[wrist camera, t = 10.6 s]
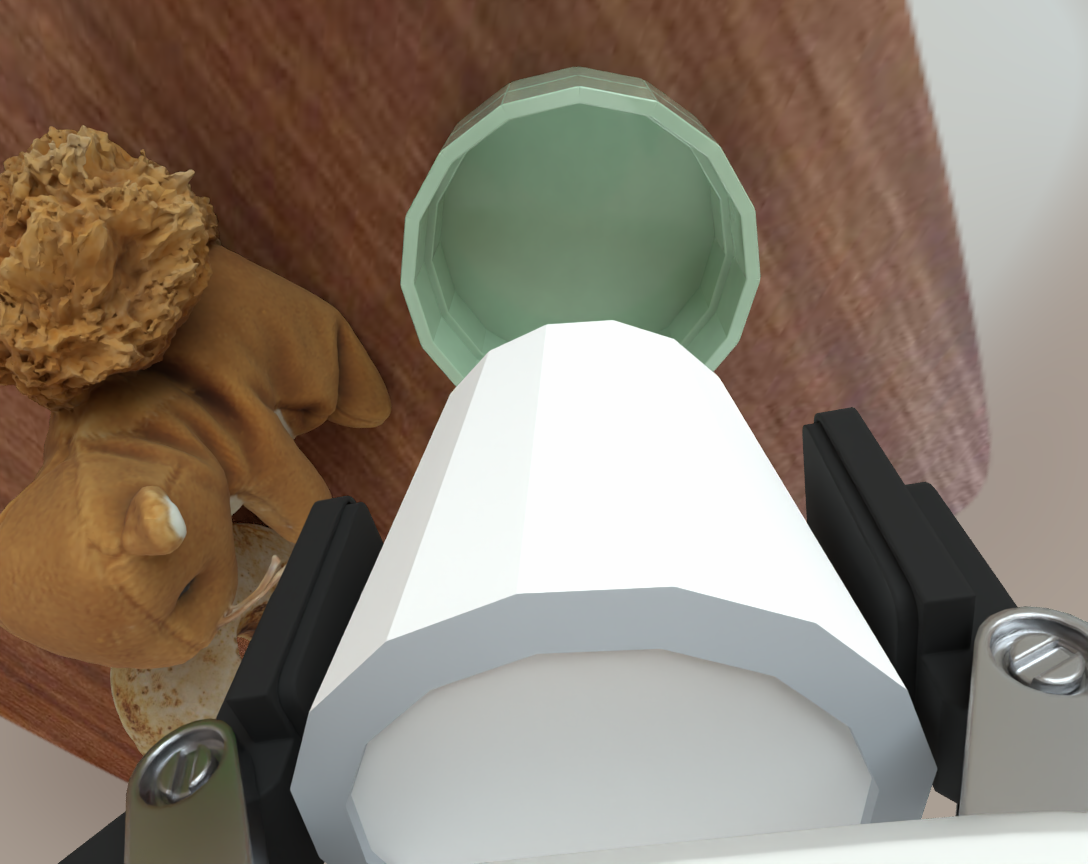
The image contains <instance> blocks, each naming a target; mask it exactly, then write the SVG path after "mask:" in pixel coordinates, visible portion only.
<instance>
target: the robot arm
mask: <svg viewBox="0 0 1088 864" xmlns="http://www.w3.org/2000/svg"><path fill="white" fill-rule="evenodd" d="M803 454H804V473H805V493H806V512H807V524H808V526H809V528H810V529H811V531H812V533H813V534H814V536H815V538H816V539H817V541H818V543H819V544H820V546H821V547H822V549H823V551H824V552H825V554H826V556H827V557H828V559H829V561H830V562H831V564H832V566H833V567H834V569H835V571H836V572H837V574H838V576H839V577H840V579H841V581H842V582H843V584H844V586H845V587H846V589H847V591H848V592H849V594H850V596H851V597H852V599H853V601H854V602H855V604H856V606H857V607H858V609H859V611H860V612H861V614H862V616H863V617H864V619H865V621H866V622H867V624H868V626H869V627H870V629H871V631H872V632H873V634H874V636H875V637H876V639H877V640H878V642H879V644H880V645H881V647H882V649H883V650H884V652H885V654H886V655H887V657H888V659H889V660H890V662H891V664H892V665H893V667H894V669H895V670H896V672H897V674H898V675H899V677H900V679H901V680H902V682H903V684H904V685H905V687H906V689H907V690H908V693H909V696H910V698H911V701H912V703H913V706H914V709H915V711H916V714H917V716H918V719H919V722H920V724H921V727H922V730H923V732H924V735H925V737H926V740H927V743H928V745H929V748H930V750H931V753H932V756H933V758H934V761H935V764H936V766H937V772H936V775H935V778H934V781H933V784H932V785H933V787H934V789H935V791H936V792H938V793H940V794H941V795H943V796H945V797H947V798H949V799H950V800H952V801H954V802H956V803H957V805H956V816H955V817H944V818H931V819H918V820H906V821H894V822H882V823H870V824H858V825H848V826H837V827H827V828H817V829H807V830H797V831H787V832H777V833H767V834H757V835H747V836H736V837H726V838H716V839H706V840H696V841H686V842H676V843H666V844H656V845H647V846H637V847H627V848H618V849H608V850H598V851H589V852H579V853H569V854H560V855H550V856H541V857H531V858H522V859H512V860H503V861H493V862H484V863H474V864H1088V622H1086V621H1083V620H1081V619H1079V618H1077V617H1075V616H1073V615H1071V614H1068V613H1064V612H1060V611H1056V610H1053V609H1049V608H1040V607H1026V606H1025V607H1017V606H1016V604H1015V603H1014V602H1013V600H1012V598H1011V597H1010V596H1009V594H1008V593H1007V591H1006V590H1005V588H1004V587H1003V585H1002V584H1001V583H1000V581H999V580H998V578H997V577H996V575H995V574H994V573H993V571H992V570H991V568H990V567H989V565H988V564H987V563H986V561H985V560H984V558H983V557H982V555H981V554H980V552H979V551H978V550H977V548H976V547H975V545H974V544H973V542H972V541H971V539H970V538H969V537H968V535H967V534H966V532H965V531H964V529H963V528H962V527H961V525H960V524H959V522H958V521H957V519H956V518H955V516H954V515H953V514H952V512H951V511H950V509H949V508H948V506H947V505H946V504H945V502H944V501H943V499H942V498H941V496H940V495H939V494H938V492H937V491H936V490H935V488H934V487H933V486H932V485H931V484H929V483H927V482H921V483H915V484H908V485H905V484H904V483H903V481H902V480H901V478H900V477H899V475H898V473H897V472H896V470H895V469H894V467H893V466H892V464H891V463H890V461H889V459H888V458H887V456H886V455H885V453H884V452H883V450H882V449H881V447H880V446H879V444H878V442H877V441H876V439H875V438H874V436H873V435H872V433H871V432H870V430H869V428H868V427H867V425H866V424H865V422H864V421H863V419H862V418H861V416H860V414H859V413H858V411H857V410H856V409H855V408H853V407H851V408H845V409H839V410H834V411H828V412H822V413H817V414H816V415H815V417H814V424H808V425H804V426H803ZM382 547H383V542H382V539H381V537H380V535H379V532H378V530H377V528H376V526H375V523H374V521H373V519H372V517H371V514H370V512H369V510H368V508H367V506H366V505H365V504H364V503H363V502H358V503H356V501H355V500H354V499H353V498H352V497H351V496H343V497H337V498H331V499H326V500H320V501H317V502H315V503H314V504H313V506H312V508H311V510H310V513H309V515H308V517H307V519H306V522H305V524H304V526H303V528H302V530H301V533H300V535H299V537H298V539H297V542H296V544H295V546H294V548H293V551H292V553H291V555H290V557H289V560H288V562H287V564H286V566H285V569H284V571H283V573H282V575H281V578H280V580H279V582H278V584H277V587H276V589H275V590H274V592H273V593H272V595H271V596H270V599H269V601H268V603H267V605H266V607H265V610H264V612H263V614H262V616H261V619H260V621H259V623H258V625H257V628H256V630H255V632H254V634H253V636H252V639H251V641H250V643H249V645H248V648H247V650H246V652H245V654H244V657H243V659H242V661H241V663H240V665H239V668H238V670H237V672H236V674H235V677H234V679H233V681H232V683H231V686H230V688H229V690H228V692H227V694H226V697H225V699H224V701H223V703H222V706H221V708H220V710H219V712H218V715H217V717H216V719H212V718H210V719H202V720H196V721H193V722H190V723H188V724H185V725H183V726H180V727H178V728H177V729H175V730H174V731H172V732H170V733H169V734H167V735H165V736H164V737H163V738H162V739H160V740H159V741H158V742H157V743H156V744H155V745H154V746H152V747H151V748H150V749H149V750H148V751H147V753H146V754H145V755H144V756H143V758H142V759H141V760H140V761H139V763H138V764H137V766H136V768H135V769H134V771H133V773H132V775H131V777H130V779H129V783H128V788H127V793H126V811H125V812H124V813H123V814H121V815H120V816H119V817H118V818H116V819H115V820H114V821H112V822H111V823H110V824H109V825H107V826H106V827H105V828H103V829H102V830H101V831H99V832H98V833H97V834H96V835H94V836H93V837H92V838H90V839H89V840H88V841H86V842H85V843H84V844H83V845H81V846H80V847H79V848H77V849H76V850H75V851H73V852H72V853H71V854H70V855H68V856H67V857H66V858H65V859H63V860H62V861H60V862H59V863H58V864H324V861H323V860H322V859H321V858H320V857H319V855H318V853H317V851H316V848H315V846H314V844H313V841H312V839H311V837H310V834H309V832H308V830H307V828H306V825H305V823H304V821H303V818H302V816H301V814H300V811H299V809H298V807H297V805H296V802H295V800H294V798H293V795H292V793H291V791H290V787H291V783H292V779H293V775H294V771H295V767H296V763H297V759H298V755H299V751H300V747H301V743H302V738H303V734H304V730H305V726H306V722H307V718H308V714H309V711H310V709H311V707H312V705H313V702H314V700H315V698H316V696H317V693H318V691H319V689H320V686H321V684H322V682H323V680H324V677H325V675H326V673H327V671H328V668H329V666H330V664H331V662H332V659H333V657H334V655H335V653H336V650H337V648H338V646H339V644H340V641H341V639H342V637H343V635H344V632H345V630H346V628H347V626H348V623H349V621H350V619H351V617H352V614H353V612H354V610H355V608H356V605H357V603H358V601H359V599H360V596H361V594H362V592H363V590H364V587H365V585H366V583H367V581H368V578H369V576H370V574H371V572H372V569H373V567H374V565H375V563H376V560H377V558H378V556H379V553H380V551H381V549H382Z"/></svg>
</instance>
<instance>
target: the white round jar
mask: <svg viewBox="0 0 1088 864" xmlns="http://www.w3.org/2000/svg"><path fill="white" fill-rule="evenodd" d="M936 772H937V766H936V764H935V761H934V758H933V756H932V753H931V750H930V748H929V745H928V743H927V740H926V737H925V735H924V732H923V730H922V727H921V724H920V722H919V719H918V716H917V714H916V711H915V709H914V706H913V703H912V701H911V698H910V696H909V693H908V690H907V689H906V687H905V685H904V684H903V682H902V680H901V679H900V677H899V675H898V674H897V672H896V670H895V669H894V667H893V665H892V664H891V662H890V660H889V659H888V657H887V655H886V654H885V652H884V650H883V649H882V647H881V645H880V644H879V642H878V640H877V639H876V637H875V636H874V634H873V632H872V631H871V629H870V627H869V626H868V624H867V622H866V621H865V619H864V617H863V616H862V614H861V612H860V611H859V609H858V607H857V606H856V604H855V602H854V601H853V599H852V597H851V596H850V594H849V592H848V591H847V589H846V587H845V586H844V584H843V582H842V581H841V579H840V577H839V576H838V574H837V572H836V571H835V569H834V567H833V566H832V564H831V562H830V561H829V559H828V557H827V556H826V554H825V552H824V551H823V549H822V547H821V546H820V544H819V543H818V541H817V539H816V538H815V536H814V534H813V533H812V531H811V529H810V528H809V526H808V524H807V523H806V521H805V519H804V518H803V516H802V514H801V513H800V511H799V509H798V508H797V506H796V504H795V503H794V501H793V499H792V498H791V496H790V494H789V493H788V491H787V489H786V488H785V486H784V484H783V483H782V481H781V479H780V478H779V476H778V474H777V473H776V471H775V469H774V468H773V466H772V464H771V463H770V461H769V459H768V458H767V456H766V454H765V453H764V451H763V450H762V448H761V446H760V445H759V443H758V441H757V440H756V438H755V436H754V435H753V433H752V431H751V430H750V428H749V426H748V425H747V423H746V421H745V420H744V418H743V416H742V415H741V413H740V411H739V410H738V408H737V406H736V405H735V403H734V401H733V400H732V398H731V396H730V395H729V393H728V391H727V390H726V388H725V386H724V385H723V383H722V381H721V380H720V378H719V377H718V376H717V375H716V374H715V373H713V372H712V371H711V370H710V369H709V368H708V367H706V366H705V365H704V364H703V363H702V362H701V361H699V360H698V359H697V358H696V357H695V356H693V355H692V354H691V353H690V352H689V351H688V350H686V349H685V348H684V347H683V346H682V345H681V344H679V343H678V342H677V341H676V340H675V339H672V338H669V337H666V336H662V335H659V334H656V333H653V332H650V331H646V330H643V329H640V328H637V327H634V326H630V325H627V324H624V323H621V322H617V321H614V320H606V321H591V322H576V323H561V324H547V325H544V326H542V327H540V328H538V329H536V330H534V331H531V332H529V333H527V334H525V335H523V336H521V337H518V338H516V339H514V340H512V341H510V342H508V343H505V344H503V345H501V346H499V347H497V348H495V349H492V350H490V351H489V352H488V353H487V354H486V355H485V356H484V357H483V358H482V359H481V360H480V362H479V363H478V364H477V365H476V366H475V367H474V368H473V369H472V370H471V371H470V373H469V374H468V375H467V376H466V377H465V378H464V379H463V380H462V381H461V382H460V384H459V385H458V386H457V387H456V388H455V389H454V390H453V391H452V392H451V393H450V396H449V398H448V400H447V402H446V405H445V407H444V409H443V411H442V414H441V416H440V418H439V421H438V423H437V425H436V427H435V430H434V432H433V434H432V436H431V439H430V441H429V443H428V445H427V448H426V450H425V452H424V454H423V457H422V459H421V461H420V463H419V466H418V468H417V470H416V472H415V475H414V477H413V479H412V481H411V484H410V486H409V488H408V490H407V493H406V495H405V497H404V499H403V502H402V504H401V506H400V508H399V511H398V513H397V515H396V517H395V520H394V522H393V524H392V526H391V529H390V531H389V533H388V535H387V538H386V540H385V542H384V544H383V547H382V549H381V551H380V553H379V556H378V558H377V560H376V563H375V565H374V567H373V569H372V572H371V574H370V576H369V578H368V581H367V583H366V585H365V587H364V590H363V592H362V594H361V596H360V599H359V601H358V603H357V605H356V608H355V610H354V612H353V614H352V617H351V619H350V621H349V623H348V626H347V628H346V630H345V632H344V635H343V637H342V639H341V641H340V644H339V646H338V648H337V650H336V653H335V655H334V657H333V659H332V662H331V664H330V666H329V668H328V671H327V673H326V675H325V677H324V680H323V682H322V684H321V686H320V689H319V691H318V693H317V696H316V698H315V700H314V702H313V705H312V707H311V709H310V711H309V714H308V718H307V722H306V726H305V730H304V734H303V738H302V743H301V747H300V751H299V755H298V759H297V763H296V767H295V771H294V775H293V779H292V783H291V787H290V791H291V793H292V795H293V798H294V800H295V802H296V805H297V807H298V809H299V811H300V814H301V816H302V818H303V821H304V823H305V825H306V828H307V830H308V832H309V834H310V837H311V839H312V841H313V844H314V846H315V848H316V851H317V853H318V855H319V857H320V858H321V859H322V860H323V861H324V862H325V863H327V864H474V863H484V862H493V861H503V860H512V859H522V858H531V857H541V856H550V855H560V854H569V853H579V852H589V851H598V850H608V849H618V848H627V847H637V846H647V845H656V844H666V843H676V842H686V841H696V840H706V839H716V838H726V837H736V836H747V835H757V834H767V833H777V832H787V831H797V830H807V829H817V828H827V827H837V826H848V825H858V824H870V823H882V822H894V821H906V820H918V819H921V818H922V814H923V811H924V808H925V805H926V802H927V799H928V796H929V793H930V790H931V787H932V784H933V781H934V778H935V775H936Z"/></svg>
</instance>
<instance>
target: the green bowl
mask: <svg viewBox="0 0 1088 864" xmlns="http://www.w3.org/2000/svg"><path fill="white" fill-rule="evenodd" d="M759 282H760V264H759V251H758V238H757V225H756V211H755V208H754V206H753V204H752V202H751V201H750V199H749V197H748V195H747V193H746V192H745V190H744V188H743V186H742V184H741V183H740V181H739V179H738V177H737V175H736V174H735V172H734V170H733V168H732V166H731V165H730V163H729V161H728V159H727V157H726V156H725V154H724V152H723V150H722V148H721V147H720V146H719V144H718V143H717V142H716V141H715V140H714V138H713V137H712V136H711V135H710V133H709V132H708V131H707V130H706V129H705V127H704V126H703V125H702V124H701V122H700V121H699V120H698V119H697V118H696V117H695V116H694V115H692V114H691V113H690V112H688V111H687V110H686V109H684V108H683V107H681V106H680V105H679V104H677V103H676V102H675V101H673V100H672V99H670V98H669V97H668V96H666V95H665V94H664V93H662V92H661V91H659V90H658V89H657V88H655V87H654V86H653V85H651V84H650V83H648V82H647V81H646V80H642V79H641V78H635V77H630V76H625V75H620V74H615V73H610V72H605V71H599V70H594V69H589V68H584V67H577V68H576V67H570V68H566V69H562V70H558V71H554V72H550V73H546V74H542V75H538V76H534V77H530V78H525V79H521V80H517V81H513V82H511V84H510V83H508V84H507V85H506V86H504V87H503V88H502V89H500V90H499V91H498V92H497V93H495V94H494V95H493V96H492V97H490V98H489V99H488V100H486V101H485V102H484V103H483V104H481V105H480V106H479V107H477V108H476V109H475V110H474V111H472V112H471V113H470V114H468V115H467V116H466V117H465V118H463V119H462V120H461V121H460V122H458V124H457V125H456V126H455V128H454V129H453V131H452V133H451V134H450V136H449V138H448V139H447V141H446V143H445V144H444V146H443V148H442V149H441V151H440V153H439V154H438V156H437V158H436V160H435V162H434V164H433V165H432V167H431V169H430V171H429V173H428V175H427V177H426V178H425V180H424V182H423V184H422V186H421V188H420V190H419V192H418V193H417V195H416V197H415V199H414V201H413V203H412V205H411V206H410V208H409V210H408V212H407V214H406V217H405V226H404V239H403V253H402V266H401V280H400V284H401V289H402V292H403V295H404V297H405V300H406V303H407V306H408V309H409V312H410V315H411V318H412V321H413V324H414V327H415V329H416V332H417V335H418V338H419V341H420V344H421V346H422V348H423V349H424V350H425V351H426V352H427V354H428V355H429V356H430V357H431V358H432V359H433V361H434V362H435V363H436V364H437V365H438V366H439V367H440V369H441V370H442V371H443V372H444V373H445V374H446V376H447V377H448V378H449V379H450V380H451V381H452V382H453V384H454V385H455V386H456V387H457V386H458V385H459V384H460V382H461V381H462V380H463V379H464V378H465V377H466V376H467V375H468V374H469V373H470V371H471V370H472V369H473V368H474V367H475V366H476V365H477V364H478V363H479V362H480V360H481V359H482V358H483V357H484V356H485V355H486V354H487V353H488V352H489V351H490V350H492V349H495V348H497V347H499V346H501V345H503V344H505V343H508V342H510V341H512V340H514V339H516V338H518V337H521V336H523V335H525V334H527V333H529V332H531V331H534V330H536V329H538V328H540V327H542V326H544V325H547V324H561V323H576V322H591V321H606V320H614V321H617V322H621V323H624V324H627V325H630V326H634V327H637V328H640V329H643V330H646V331H650V332H653V333H656V334H659V335H662V336H666V337H669V338H672V339H675V340H676V341H677V342H678V343H679V344H681V345H682V346H683V347H684V348H685V349H686V350H688V351H689V352H690V353H691V354H692V355H693V356H695V357H696V358H697V359H698V360H699V361H701V362H702V363H703V364H704V365H705V366H706V367H708V368H709V369H710V370H711V371H712V372H714V370H715V369H716V368H717V367H718V366H719V365H720V363H721V362H722V361H723V360H724V359H725V358H726V356H727V355H728V354H729V353H730V352H731V351H732V349H733V348H734V347H735V346H736V345H737V344H738V342H739V340H740V337H741V334H742V331H743V329H744V326H745V323H746V320H747V317H748V314H749V311H750V308H751V305H752V302H753V299H754V297H755V294H756V291H757V288H758V285H759Z"/></svg>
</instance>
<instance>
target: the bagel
mask: <svg viewBox="0 0 1088 864" xmlns="http://www.w3.org/2000/svg"><path fill="white" fill-rule="evenodd" d="M232 524H233V537H234V545H235V553H236V559H237V565H238V587H237V591H236V596H235V599H234V602H233V604H232V606H234V605H237V604H239V603H240V602H242V601H243V600H245V599H246V598H247V597H248V596H249V595H250V594H252V593H253V592H254V591H255V590H256V589H257V588H258V586H259V585H260V583H261V581H262V580H263V578H264V576H265V574H266V573H267V570H268V568H269V566H270V564H271V559H272V557H273V555H277V556H278V557H279V558H280V561H281V562H280V564H279V566H278V569H277V571H276V573H277V572H278V571H279V570H280V569H282V568H283V567H284V566H285V565H286V564H287V562H288V560H289V557H290V555H291V553H292V551H293V548H294V546H295V543H292V542H289V541H287V540H286V539H284V538H283V537H282V536H280V535H279V534H278V533H277V532H276V531H274V530H273V529H270V528H267V527H265V526H262V525H257V524H248V523H232ZM276 573H275V574H276ZM275 574H274V575H275ZM273 577H274V576H273ZM272 579H273V578H272ZM278 582H279V581H278ZM278 582H277V583H276V584H275V585H274V586H273V587H272V588H271V589H270V590H269V591H268V592H267V593H266V594H265V595H264V596H263V597H261V598H260V599H259V600H258V601H256V602H255V603H254V604H253V605H251V606H250V607H249V608H248V609H247V610H246V611H244V612H243V613H242V614H241V615H240V616H239V617H238V618H237V619H235V620H232V621H231V622H230V623H228V624H226V625H224V626H222V627H221V628H220V629H219V630H218V632H217V634H216V635H215V637H214V638H213V640H212V641H211V643H210V644H209V645H208V646H207V647H205V648H203V649H201V650H200V651H199V652H198V653H197V654H196V655H195V656H194V657H193V658H191V659H190V660H188V661H186V662H185V663H183V664H179V665H174V666H171V667H164V668H155V669H134V668H113V667H111V672H110V679H111V689H112V696H113V700H114V703H115V707H116V710H117V712H118V714H119V717H120V719H121V722H122V724H123V726H124V728H125V730H126V732H127V733H128V735H129V736H130V737H131V739H132V740H133V741H134V742H135V744H136V746H137V748H138V750H139V751H140V752H141V753H142V754H143V756H144V755H145V754H146V753H147V751H148V750H149V749H150V748H151V747H152V746H154V745H155V744H156V743H157V742H158V741H159V740H160V739H162V738H163V737H164V736H165V735H167V734H169V733H170V732H172V731H174V730H175V729H177V728H178V727H180V726H183V725H185V724H188V723H190V722H193V721H196V720H202V719H210V718H212V719H216V717H217V715H218V712H219V710H220V708H221V706H222V703H223V701H224V699H225V697H226V694H227V692H228V690H229V688H230V686H231V683H232V681H233V679H234V677H235V674H236V672H237V670H238V668H239V665H240V663H241V661H242V659H241V657H240V655H239V650H238V644H237V636H238V637H242V638H245V639H248V640H249V641H251V639H252V636H253V634H254V632H255V630H256V628H257V625H258V623H259V621H260V619H261V616H262V614H263V612H264V610H265V607H266V605H267V603H268V601H269V599H270V596H271V595H272V593H273V592H274V590H275V589H276V587H277V584H278ZM269 583H270V582H269Z"/></svg>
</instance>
